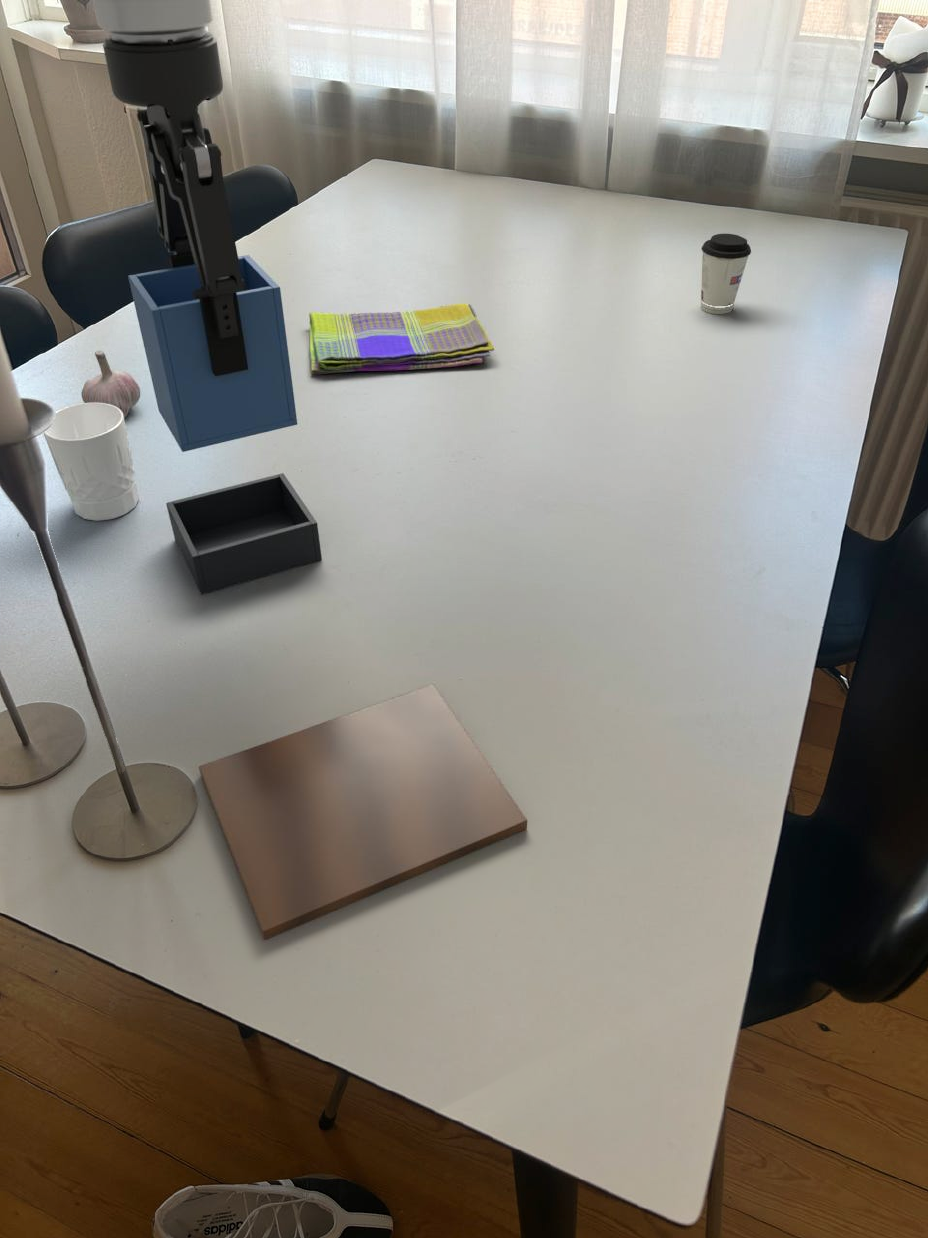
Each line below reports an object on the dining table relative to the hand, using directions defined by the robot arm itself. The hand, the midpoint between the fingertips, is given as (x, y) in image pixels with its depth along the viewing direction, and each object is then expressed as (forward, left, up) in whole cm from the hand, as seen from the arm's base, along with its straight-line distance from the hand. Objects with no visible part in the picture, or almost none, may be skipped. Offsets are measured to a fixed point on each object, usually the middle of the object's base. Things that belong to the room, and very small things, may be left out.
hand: (215, 349), depth 80 cm
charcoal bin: (0, +4, -23) cm, 23 cm away
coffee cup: (+80, +31, -23) cm, 89 cm away
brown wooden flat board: (-2, -31, -23) cm, 39 cm away
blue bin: (0, 0, -6) cm, 6 cm away
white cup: (-11, +19, -23) cm, 32 cm away
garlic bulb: (-6, +40, -23) cm, 46 cm away
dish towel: (+33, +41, -23) cm, 58 cm away
